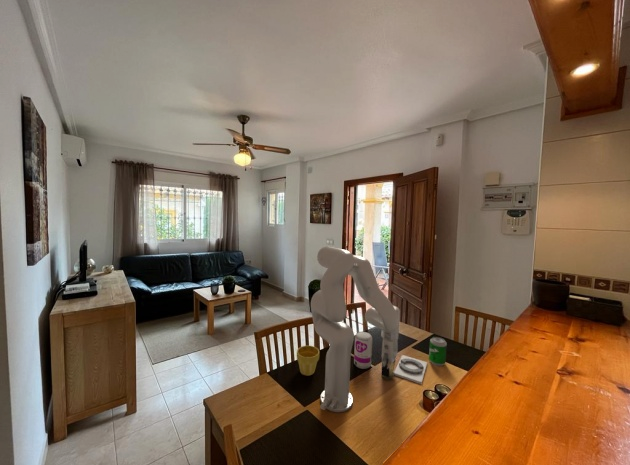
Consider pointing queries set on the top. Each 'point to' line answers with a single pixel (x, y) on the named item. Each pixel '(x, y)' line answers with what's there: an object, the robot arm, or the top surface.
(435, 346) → the soda can
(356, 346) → the supplement can
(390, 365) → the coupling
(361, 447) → the top surface
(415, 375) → the socket board
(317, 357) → the plant pot
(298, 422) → the top surface
